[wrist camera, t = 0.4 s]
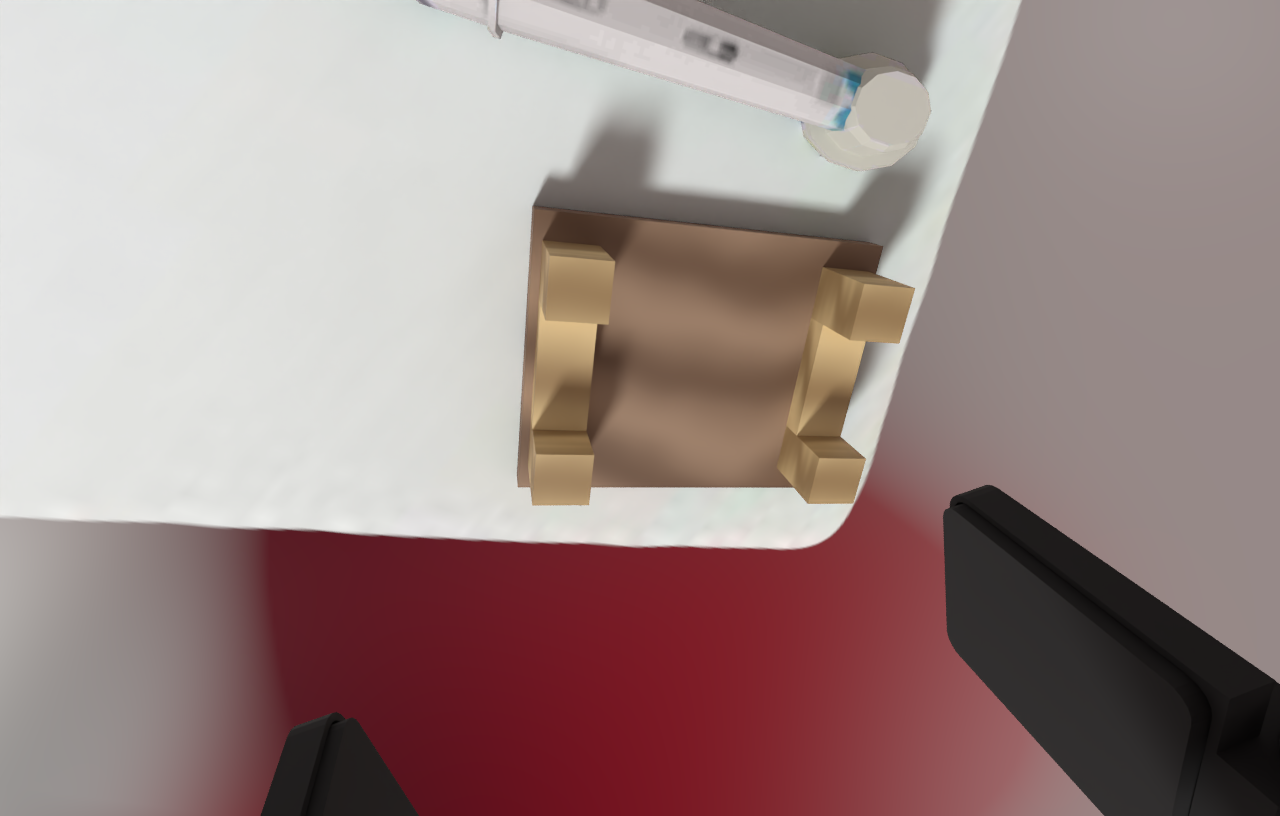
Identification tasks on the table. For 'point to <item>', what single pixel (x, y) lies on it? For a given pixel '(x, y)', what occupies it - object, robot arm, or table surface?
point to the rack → (694, 356)
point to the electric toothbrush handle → (732, 67)
